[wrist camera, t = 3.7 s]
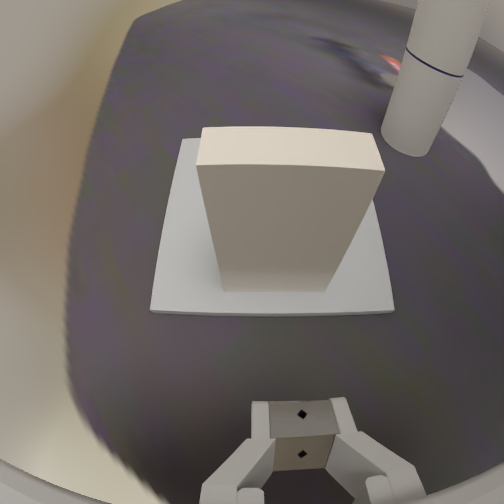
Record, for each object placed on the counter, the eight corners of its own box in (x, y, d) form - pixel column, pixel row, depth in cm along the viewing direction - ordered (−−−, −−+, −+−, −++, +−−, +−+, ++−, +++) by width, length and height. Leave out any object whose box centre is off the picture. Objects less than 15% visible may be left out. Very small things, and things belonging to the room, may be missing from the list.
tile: (321, 260, 26) (370, 129, 13) (324, 292, 24) (385, 170, 12) (226, 260, 26) (203, 124, 14) (224, 291, 25) (195, 165, 12)
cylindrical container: (369, 128, 36) (414, -51, 14) (400, 116, 37) (446, -38, 15) (410, 163, 33) (481, -24, 11) (437, 148, 35) (502, -10, 13)
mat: (354, 146, 34) (356, 142, 33) (390, 312, 24) (394, 309, 23) (183, 144, 34) (182, 139, 33) (152, 312, 24) (150, 309, 24)
